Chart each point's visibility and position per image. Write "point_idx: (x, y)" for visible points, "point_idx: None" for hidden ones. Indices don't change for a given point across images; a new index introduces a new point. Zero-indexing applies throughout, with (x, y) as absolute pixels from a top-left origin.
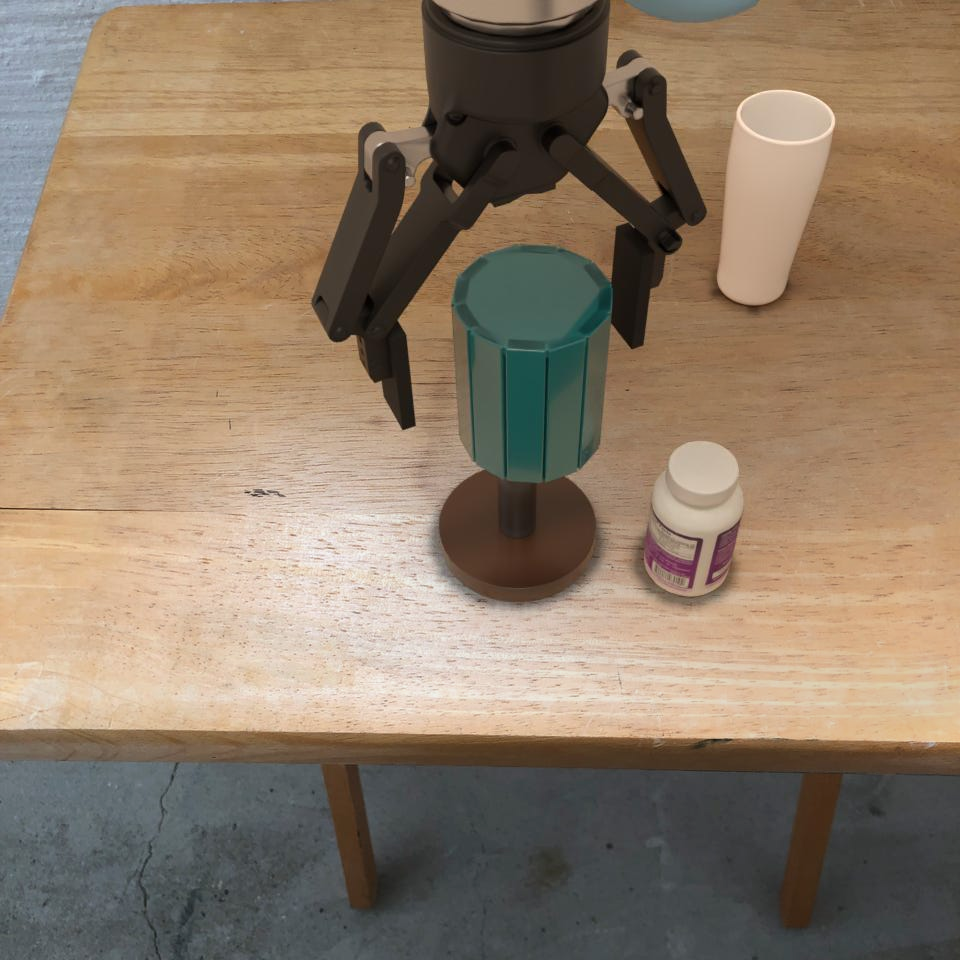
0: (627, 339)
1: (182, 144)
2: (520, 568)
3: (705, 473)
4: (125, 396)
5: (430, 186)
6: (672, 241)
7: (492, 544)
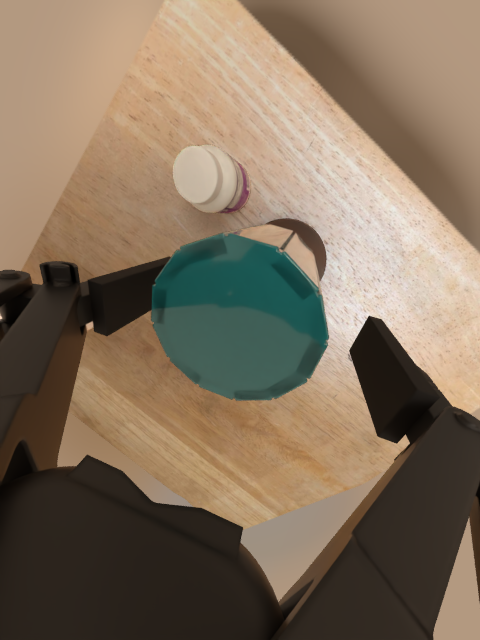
0: None
1: (248, 489)
2: (302, 239)
3: (197, 168)
4: (356, 434)
5: None
6: (55, 269)
7: None
